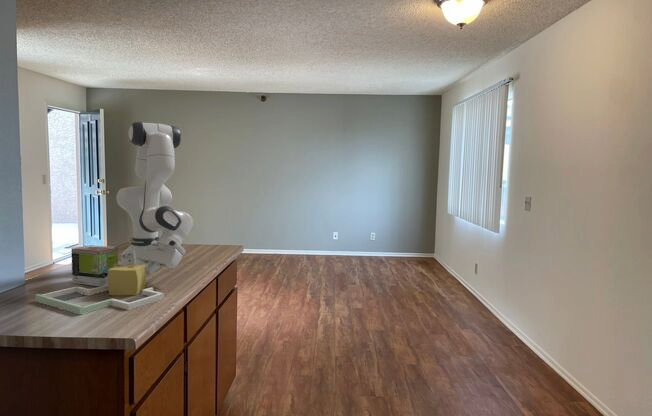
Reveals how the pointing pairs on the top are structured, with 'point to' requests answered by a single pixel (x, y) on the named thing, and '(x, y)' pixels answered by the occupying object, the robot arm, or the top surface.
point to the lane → (70, 293)
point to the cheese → (126, 279)
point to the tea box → (93, 264)
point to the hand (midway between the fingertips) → (148, 273)
